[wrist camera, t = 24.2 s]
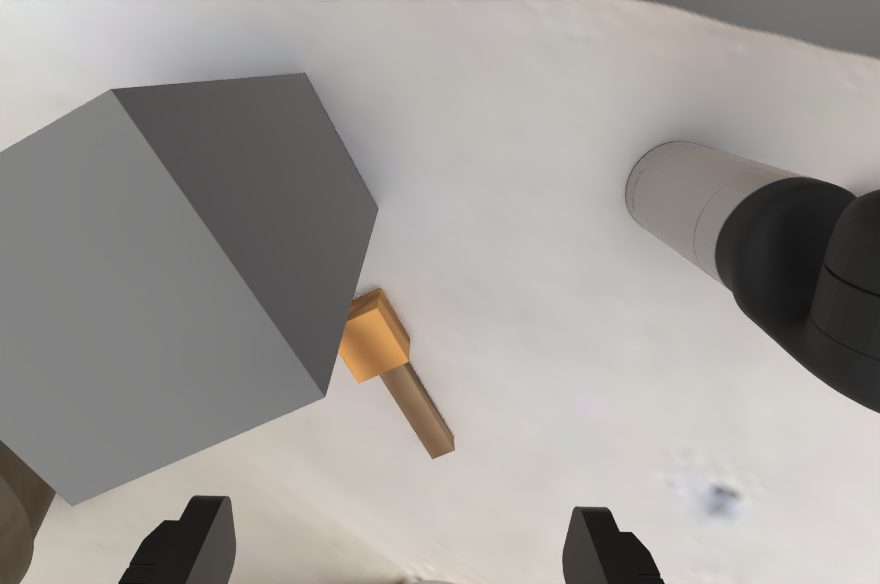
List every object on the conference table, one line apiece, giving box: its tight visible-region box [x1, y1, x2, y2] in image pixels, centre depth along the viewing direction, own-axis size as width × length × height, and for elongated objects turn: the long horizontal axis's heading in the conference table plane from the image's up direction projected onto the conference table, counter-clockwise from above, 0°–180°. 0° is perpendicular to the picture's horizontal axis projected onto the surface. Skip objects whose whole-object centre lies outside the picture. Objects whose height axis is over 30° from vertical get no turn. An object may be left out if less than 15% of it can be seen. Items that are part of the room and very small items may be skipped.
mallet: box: [338, 288, 455, 459], centre depth 58 cm, size 6×22×5 cm, turn 25°
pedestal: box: [0, 73, 378, 506], centre depth 35 cm, size 14×14×32 cm
